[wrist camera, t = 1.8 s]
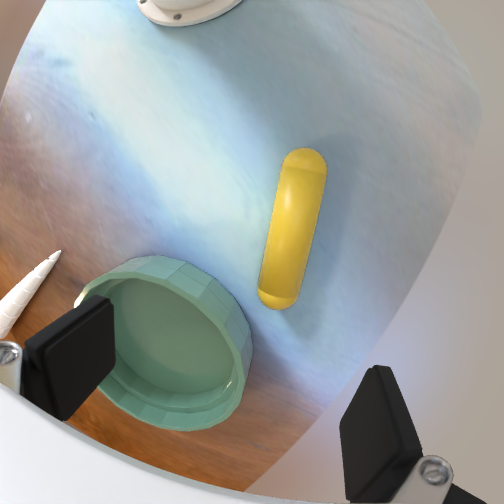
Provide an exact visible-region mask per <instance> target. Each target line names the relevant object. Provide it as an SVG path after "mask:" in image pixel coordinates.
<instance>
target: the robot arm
mask: <svg viewBox="0 0 504 504" xmlns="http://www.w3.org/2000/svg"><path fill="white" fill-rule="evenodd" d="M241 1H242V0H137V4H138V7H139V9H140V11H141V12H142V13H143V14H144V15H145V16H146V17H147V18H148V19H149V20H151V21H152V22H154V23H157V24H160V25H164V26H171V27H173V26H188V25H194V24H198V23H202V22H205V21H208V20H210V19H213V18H216V17H218V16H220V15H222V14H223V13H225V12H227V11H229V10H230V9H232V8H233V7H235V6H236V5H237V4H239V3H240V2H241ZM24 343H25V348H24V349H23V350H22V349H21V347H20V346H19V345H18V344H17V343H15V342H12V341H7V340H6V341H0V504H347V503H323V502H308V501H297V500H288V499H281V498H273V497H267V496H260V495H255V494H249V493H244V492H240V491H235V490H230V489H226V488H222V487H218V486H214V485H210V484H206V483H203V482H199V481H196V480H192V479H189V478H186V477H182V476H179V475H176V474H173V473H170V472H167V471H165V470H162V469H159V468H156V467H154V466H151V465H149V464H146V463H143V462H141V461H139V460H136V459H134V458H131V457H129V456H127V455H125V454H122V453H120V452H118V451H116V450H113V449H111V448H109V447H107V446H105V445H103V444H101V443H99V442H97V441H95V440H93V439H91V438H89V437H87V436H85V435H84V434H82V433H80V432H78V431H76V430H74V429H73V428H71V427H69V426H68V425H66V424H64V423H62V421H63V420H64V421H67V420H68V419H69V418H70V417H71V416H72V415H73V414H74V413H75V411H76V410H77V409H78V408H79V407H80V406H81V405H82V403H83V402H84V401H85V400H86V399H87V398H88V397H89V395H90V394H91V393H92V392H93V391H94V390H95V389H96V388H97V386H98V385H99V384H100V383H101V382H102V381H103V380H104V379H105V378H106V376H107V375H108V374H109V373H110V372H111V371H112V370H113V368H114V367H115V364H116V353H115V331H114V305H113V304H112V303H111V301H110V299H109V298H106V297H103V296H101V295H98V294H95V295H93V296H92V297H90V298H89V299H87V300H85V301H84V302H82V303H81V304H79V305H78V306H76V307H75V308H73V309H72V310H70V311H69V312H67V313H66V314H64V315H63V316H61V317H60V318H58V319H57V320H55V321H54V322H52V323H51V324H49V325H48V326H46V327H45V328H44V329H42V330H41V331H39V332H38V333H36V334H35V335H33V336H32V337H31V338H29V339H28V340H26V341H25V342H24ZM339 429H340V438H341V447H342V458H343V468H344V479H345V494H346V499H347V500H350V504H487V503H485V502H484V501H482V500H481V499H479V498H477V497H475V496H473V495H472V494H470V493H468V492H466V491H465V490H463V489H461V488H459V487H458V486H456V485H454V484H453V483H452V481H453V476H454V475H453V470H452V467H451V465H450V464H449V463H448V462H447V461H446V460H445V459H443V458H442V457H439V456H435V455H427V456H423V453H422V447H421V444H420V441H419V438H418V436H417V433H416V430H415V427H414V424H413V422H412V419H411V417H410V414H409V411H408V409H407V406H406V404H405V401H404V399H403V396H402V394H401V391H400V389H399V386H398V384H397V382H396V379H395V377H394V374H393V372H392V370H391V368H390V367H388V366H380V365H374V366H373V367H372V368H369V369H368V370H367V371H366V373H365V375H364V377H363V379H362V381H361V383H360V385H359V387H358V389H357V391H356V393H355V395H354V397H353V399H352V401H351V403H350V404H349V406H348V408H347V410H346V412H345V413H344V415H343V417H342V419H341V421H340V426H339Z"/></svg>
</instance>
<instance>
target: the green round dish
mask: <svg viewBox="0 0 504 504" xmlns="http://www.w3.org/2000/svg"><path fill="white" fill-rule="evenodd" d="M95 294H98V295H101V296H103V297H106V298H109V299H110V301H111V303H112V304H113V305H114V331H115V353H116V364H115V367H114V368H113V370H112V371H111V372H110V373H109V374H108V375H107V376H106V378H105V379H104V380H103V381H102V382H101V383H100V384H99V385H98V386H97V388H98V389H99V390H100V391H101V392H102V393H103V394H104V395H105V396H106V397H107V398H108V399H109V400H110V401H111V402H112V403H114V404H115V405H116V406H117V407H119V408H120V409H122V410H123V411H125V412H126V413H128V414H130V415H131V416H133V417H135V418H136V419H138V420H140V421H143V422H145V423H148V424H151V425H153V426H156V427H159V428H162V429H169V430H176V431H184V432H186V431H195V430H203V429H208V428H210V427H212V426H214V425H216V424H219V423H221V422H223V421H225V420H226V419H228V417H229V416H230V415H231V414H232V413H233V411H234V410H235V409H236V408H237V407H238V406H239V404H240V403H241V399H242V395H243V391H244V387H245V383H246V380H247V376H248V372H249V367H250V363H251V359H252V355H253V345H252V339H251V332H250V326H249V324H248V322H247V320H246V318H245V316H244V314H243V312H242V310H241V308H240V306H239V305H238V303H237V301H236V299H235V298H234V297H233V296H232V295H231V294H230V293H229V292H228V291H227V290H226V289H225V288H224V287H223V286H222V285H221V284H220V283H219V282H218V281H217V280H216V279H215V278H214V277H212V276H211V275H209V274H207V273H205V272H204V271H202V270H200V269H199V268H197V267H195V266H193V265H192V264H190V263H188V262H186V261H182V260H178V259H174V258H170V257H165V256H161V255H155V256H145V257H135V258H132V259H130V260H129V261H127V262H125V263H123V264H121V265H119V266H117V267H116V268H114V269H112V270H110V271H108V272H107V273H105V274H103V275H101V276H100V277H98V278H96V279H94V280H93V281H91V282H89V283H88V284H87V285H86V286H85V288H84V289H83V290H82V292H81V293H80V295H79V296H78V298H77V299H76V301H75V304H74V308H75V307H76V306H78V305H79V304H81V303H82V302H84V301H85V300H87V299H89V298H90V297H92V296H93V295H95Z"/></svg>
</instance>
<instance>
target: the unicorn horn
mask: <svg viewBox="0 0 504 504" xmlns="http://www.w3.org/2000/svg"><path fill="white" fill-rule="evenodd" d="M60 253H61V251H60V250H59V251H57V252H56V253H54V254H53V255H51V256H50V257H49V260H47V259H46V260H45V261H43V262H42V263H41V264H40V265H38V266H37V267H36V268H35V269H34V271H31V272H30V273H29V274H28V275H27V276H26V277H25V278H24V279H23V280H22V281H21V282H19V283H18V284H17V285H16V286H15V287H14V288H13V289H12V290H11V291H10V292H9V293H8V294H7V295H6V296H5V297H4V298H3V299H2V300H1V301H0V339H3V338H4V337H6V335H7V334H8V332H9V331H10V329H11V328H12V326H13V324H14V323H15V322H16V320H17V319H18V317H19V316H20V314H21V313H22V311H23V309H24V308H25V306H26V305H27V304H28V302H29V301H30V299H31V298H32V296H33V295H34V293H35V292H36V290H37V289H38V287H39V286H40V285H41V283H42V282H43V280H44V279H45V277H46V276H47V274H48V273H49V271H50V270H51V268H52V267H53V265H54V264H55V262H56V261H57V259H58V258H59V255H60Z"/></svg>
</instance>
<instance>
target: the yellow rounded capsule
mask: <svg viewBox="0 0 504 504" xmlns="http://www.w3.org/2000/svg"><path fill="white" fill-rule="evenodd" d="M326 177H327V165H326V162H325V160H324V158H323V157H322V156H321V154H319V153H318V152H317V151H315V150H313V149H310V148H297V149H295V150H293V151H291V152H290V153H289V154H287V156H286V157H285V158H284V160H283V163H282V167H281V172H280V177H279V182H278V187H277V192H276V197H275V202H274V207H273V212H272V217H271V222H270V227H269V232H268V237H267V242H266V247H265V251H264V256H263V261H262V266H261V271H260V276H259V280H258V286H257V292H258V296H259V299H260V300H261V302H262V303H263V304H264V305H265V306H266V307H268V308H270V309H273V310H283V309H287V308H289V307H290V306H292V305H293V304H294V303H295V302H296V300H297V298H298V296H299V293H300V289H301V285H302V281H303V277H304V273H305V269H306V265H307V261H308V257H309V253H310V249H311V245H312V241H313V237H314V232H315V228H316V224H317V219H318V215H319V210H320V206H321V201H322V196H323V192H324V187H325V182H326Z"/></svg>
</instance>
